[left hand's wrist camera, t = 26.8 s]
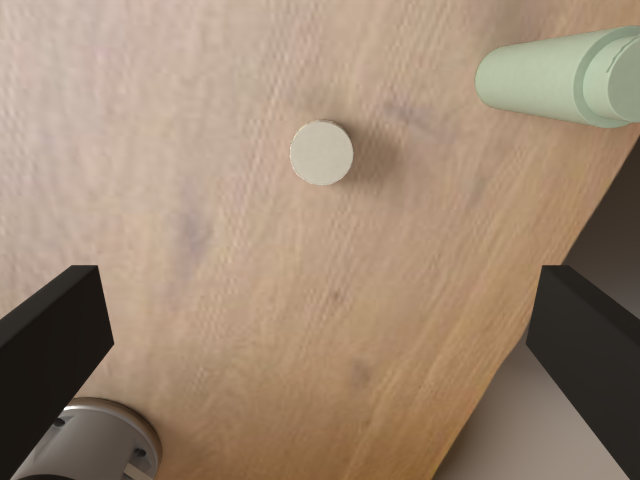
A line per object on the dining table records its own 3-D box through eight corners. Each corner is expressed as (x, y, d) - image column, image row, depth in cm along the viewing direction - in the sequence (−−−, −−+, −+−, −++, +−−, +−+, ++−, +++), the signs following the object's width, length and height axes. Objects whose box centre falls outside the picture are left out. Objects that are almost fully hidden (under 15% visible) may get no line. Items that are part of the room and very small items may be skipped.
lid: (278, 144, 38) (276, 149, 36) (327, 105, 37) (327, 107, 35) (316, 191, 40) (316, 198, 37) (363, 155, 38) (366, 160, 36)
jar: (544, 56, 35) (728, 40, 19) (517, 115, 37) (665, 145, 21) (490, 37, 35) (632, 5, 19) (465, 98, 37) (576, 115, 21)
